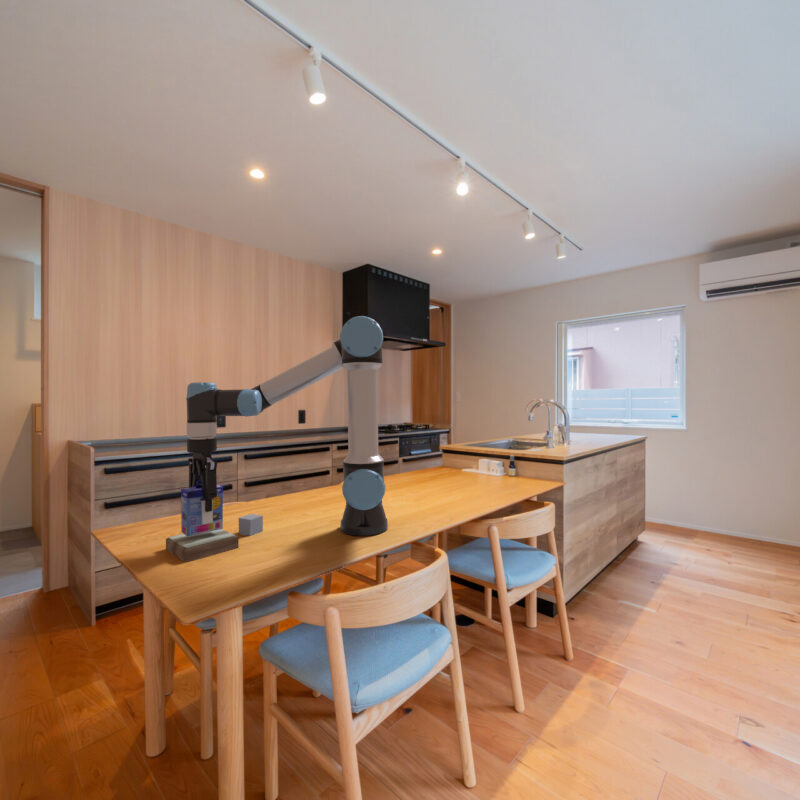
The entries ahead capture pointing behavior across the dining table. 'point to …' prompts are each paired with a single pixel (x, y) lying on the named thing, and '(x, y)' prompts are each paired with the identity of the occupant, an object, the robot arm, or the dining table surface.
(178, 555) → the podium
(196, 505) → the ink cartridge box
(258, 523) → the slate block
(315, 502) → the dining table surface
